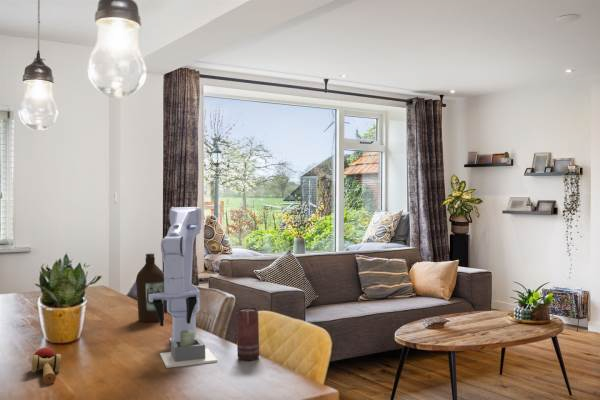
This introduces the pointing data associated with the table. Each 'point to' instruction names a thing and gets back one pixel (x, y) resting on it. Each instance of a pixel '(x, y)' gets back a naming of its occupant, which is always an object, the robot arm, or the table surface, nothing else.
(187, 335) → the peg
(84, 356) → the table surface
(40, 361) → the kendama
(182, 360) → the socket
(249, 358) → the can
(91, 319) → the table surface
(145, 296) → the olive oil
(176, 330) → the robot arm
